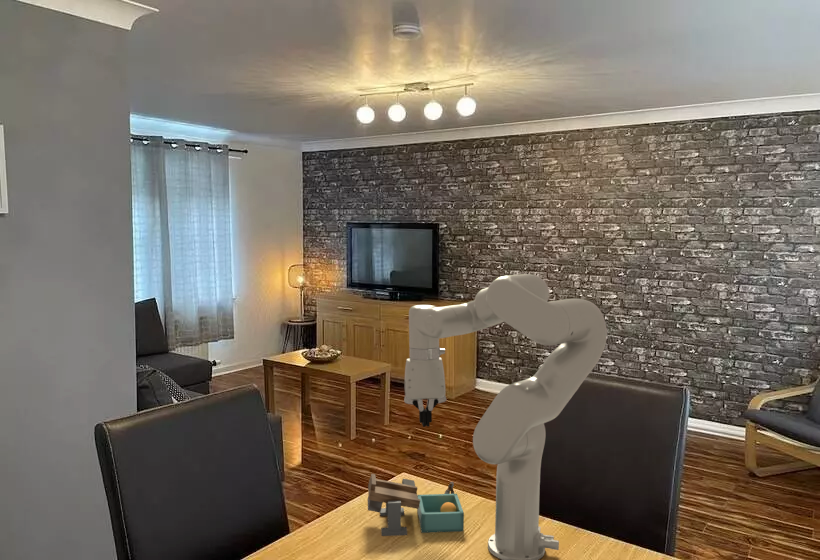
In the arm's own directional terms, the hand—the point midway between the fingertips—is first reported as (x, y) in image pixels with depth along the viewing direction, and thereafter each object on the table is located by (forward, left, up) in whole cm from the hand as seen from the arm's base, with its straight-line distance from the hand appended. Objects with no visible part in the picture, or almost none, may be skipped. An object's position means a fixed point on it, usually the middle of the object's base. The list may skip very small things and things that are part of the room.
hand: (425, 425), depth 159 cm
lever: (+7, +9, -18) cm, 21 cm away
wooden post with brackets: (-5, -3, -22) cm, 22 cm away
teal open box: (-6, +8, -21) cm, 23 cm away
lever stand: (+5, +11, -21) cm, 25 cm away
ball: (-8, +7, -19) cm, 21 cm away
